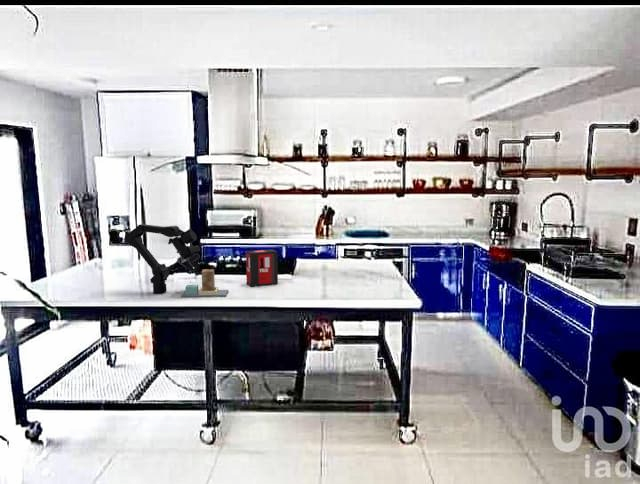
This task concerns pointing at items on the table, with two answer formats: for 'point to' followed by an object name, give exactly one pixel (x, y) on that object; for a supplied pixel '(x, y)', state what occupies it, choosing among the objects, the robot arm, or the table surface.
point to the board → (202, 292)
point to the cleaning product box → (261, 268)
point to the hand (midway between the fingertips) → (196, 270)
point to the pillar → (208, 280)
